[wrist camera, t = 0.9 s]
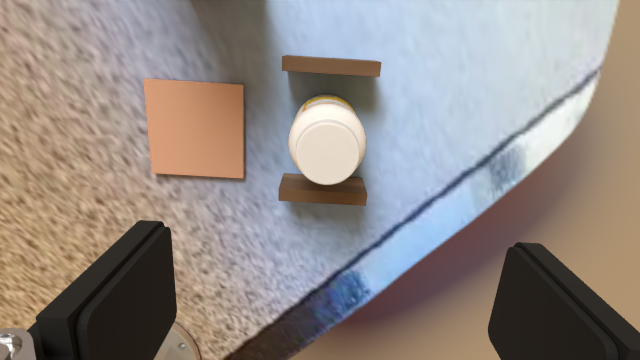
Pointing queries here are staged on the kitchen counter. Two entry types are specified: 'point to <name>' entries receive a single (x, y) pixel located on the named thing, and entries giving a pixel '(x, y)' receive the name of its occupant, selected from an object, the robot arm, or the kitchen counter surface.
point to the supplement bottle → (327, 139)
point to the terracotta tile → (195, 127)
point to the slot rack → (298, 184)
